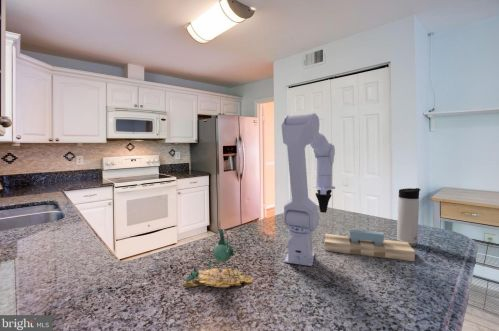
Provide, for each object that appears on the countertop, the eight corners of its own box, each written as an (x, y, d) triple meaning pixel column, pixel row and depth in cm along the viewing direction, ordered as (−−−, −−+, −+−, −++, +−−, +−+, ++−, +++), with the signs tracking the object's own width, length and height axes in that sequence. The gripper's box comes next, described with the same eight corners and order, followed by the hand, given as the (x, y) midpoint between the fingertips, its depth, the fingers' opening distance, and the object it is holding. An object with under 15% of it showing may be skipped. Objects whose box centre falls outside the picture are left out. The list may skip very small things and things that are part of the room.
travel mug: (421, 247, 87) (424, 189, 85) (400, 245, 88) (402, 189, 87) (413, 240, 93) (415, 187, 91) (394, 239, 94) (396, 186, 93)
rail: (414, 261, 76) (414, 251, 76) (324, 250, 84) (324, 241, 84) (407, 251, 83) (407, 242, 83) (325, 242, 92) (325, 233, 91)
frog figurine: (188, 271, 70) (193, 219, 69) (253, 279, 69) (259, 226, 69) (178, 290, 60) (184, 230, 59) (253, 299, 60) (259, 238, 59)
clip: (383, 254, 81) (383, 234, 81) (349, 250, 84) (350, 231, 84) (381, 251, 83) (382, 232, 83) (349, 247, 86) (349, 229, 86)
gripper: (335, 177, 88) (334, 215, 89) (335, 173, 102) (334, 206, 103) (314, 176, 90) (314, 213, 91) (317, 173, 104) (316, 205, 105)
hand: (323, 209), depth 97 cm, fingers open, 7 cm apart
